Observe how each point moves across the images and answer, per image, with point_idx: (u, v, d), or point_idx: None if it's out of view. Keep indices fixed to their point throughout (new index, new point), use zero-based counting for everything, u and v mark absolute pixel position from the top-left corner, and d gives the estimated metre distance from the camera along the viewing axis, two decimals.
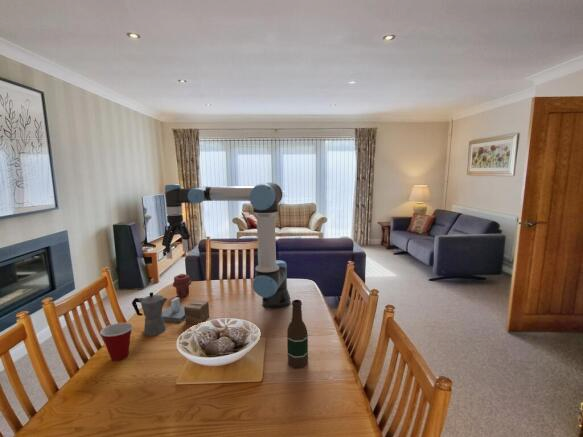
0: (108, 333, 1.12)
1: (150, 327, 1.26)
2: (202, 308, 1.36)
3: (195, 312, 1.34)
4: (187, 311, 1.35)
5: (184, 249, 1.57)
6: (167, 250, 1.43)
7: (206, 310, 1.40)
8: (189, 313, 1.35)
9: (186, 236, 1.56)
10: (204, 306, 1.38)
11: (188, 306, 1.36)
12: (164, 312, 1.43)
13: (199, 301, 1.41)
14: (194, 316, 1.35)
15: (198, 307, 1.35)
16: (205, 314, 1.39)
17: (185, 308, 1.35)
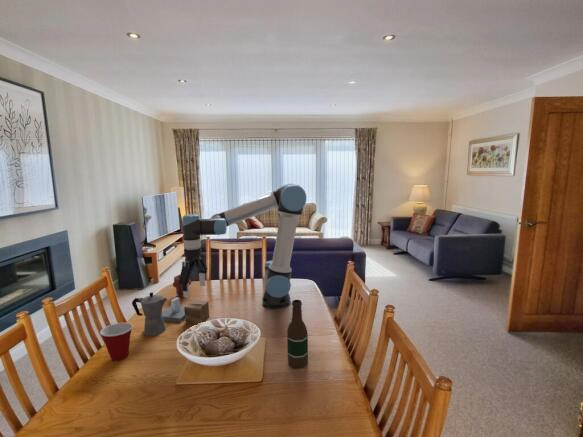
0: (108, 333, 1.12)
1: (150, 327, 1.26)
2: (202, 308, 1.36)
3: (195, 312, 1.34)
4: (187, 311, 1.35)
5: (201, 284, 1.43)
6: (184, 289, 1.29)
7: (206, 310, 1.40)
8: (189, 313, 1.35)
9: (204, 270, 1.42)
10: (204, 306, 1.38)
11: (188, 306, 1.36)
12: (164, 312, 1.43)
13: (199, 301, 1.41)
14: (194, 316, 1.35)
15: (198, 307, 1.35)
16: (205, 314, 1.39)
17: (185, 308, 1.35)
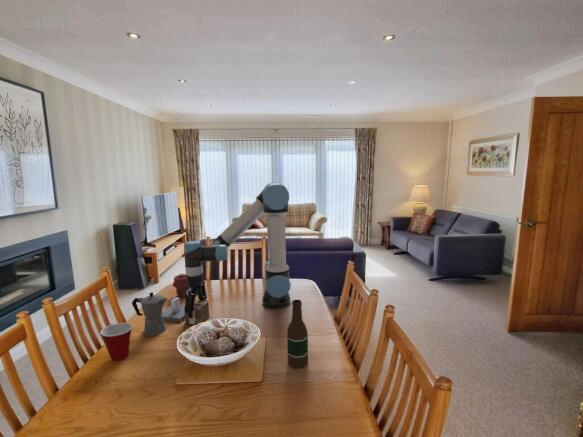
0: (108, 333, 1.12)
1: (150, 327, 1.26)
2: (202, 308, 1.36)
3: (195, 312, 1.34)
4: None
5: None
6: (190, 316, 1.33)
7: (206, 310, 1.40)
8: None
9: (203, 298, 1.42)
10: (204, 306, 1.38)
11: None
12: (164, 312, 1.43)
13: (199, 301, 1.41)
14: None
15: (198, 307, 1.35)
16: (205, 314, 1.39)
17: None
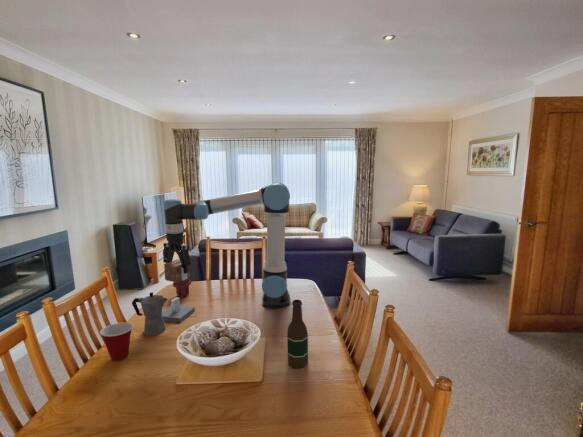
0: (108, 333, 1.12)
1: (150, 327, 1.26)
2: None
3: None
4: (179, 269, 1.35)
5: None
6: (186, 270, 1.37)
7: None
8: None
9: None
10: None
11: (177, 264, 1.35)
12: (164, 312, 1.43)
13: (172, 262, 1.40)
14: None
15: None
16: None
17: (177, 267, 1.34)
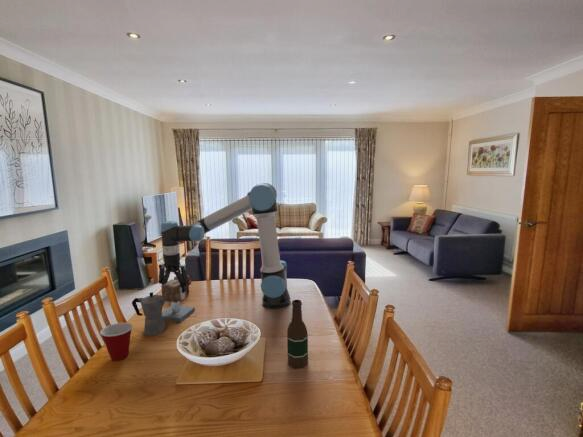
0: (108, 333, 1.12)
1: (150, 327, 1.26)
2: None
3: None
4: (178, 289, 1.39)
5: None
6: (185, 289, 1.41)
7: None
8: (179, 290, 1.40)
9: None
10: None
11: (176, 285, 1.39)
12: (164, 312, 1.43)
13: (168, 282, 1.42)
14: None
15: None
16: None
17: (176, 287, 1.38)
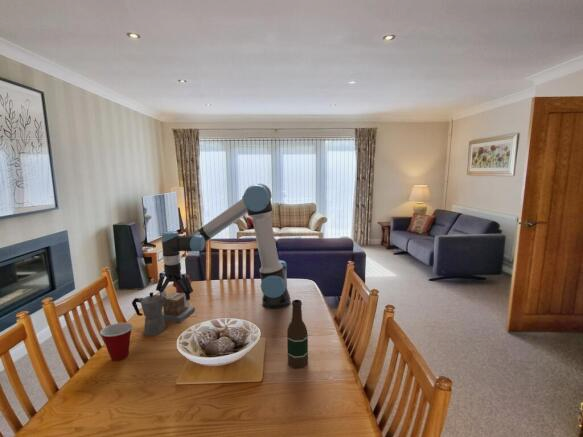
0: (108, 333, 1.12)
1: (150, 327, 1.26)
2: None
3: None
4: (179, 302, 1.40)
5: None
6: (189, 297, 1.41)
7: None
8: (180, 303, 1.41)
9: None
10: None
11: (177, 298, 1.40)
12: None
13: (169, 295, 1.43)
14: None
15: (183, 294, 1.45)
16: None
17: (178, 301, 1.39)
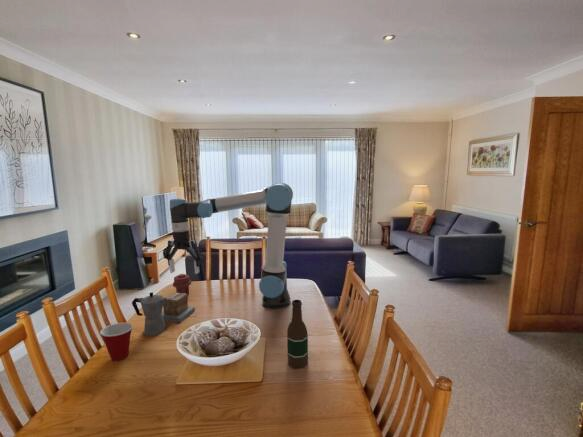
0: (108, 333, 1.12)
1: (150, 327, 1.26)
2: None
3: (184, 299, 1.44)
4: (179, 302, 1.40)
5: (172, 270, 1.44)
6: (199, 264, 1.41)
7: None
8: (180, 303, 1.41)
9: None
10: None
11: (177, 298, 1.40)
12: None
13: (169, 295, 1.43)
14: (184, 303, 1.44)
15: (183, 294, 1.45)
16: None
17: (178, 301, 1.39)
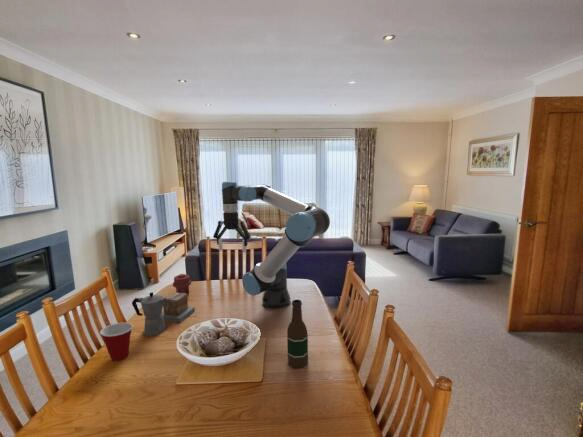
0: (108, 333, 1.12)
1: (150, 327, 1.26)
2: None
3: (184, 299, 1.44)
4: (179, 302, 1.40)
5: (221, 249, 1.54)
6: None
7: None
8: (180, 303, 1.41)
9: None
10: None
11: (177, 298, 1.40)
12: None
13: (169, 295, 1.43)
14: (184, 303, 1.44)
15: (183, 294, 1.45)
16: None
17: (178, 301, 1.39)
